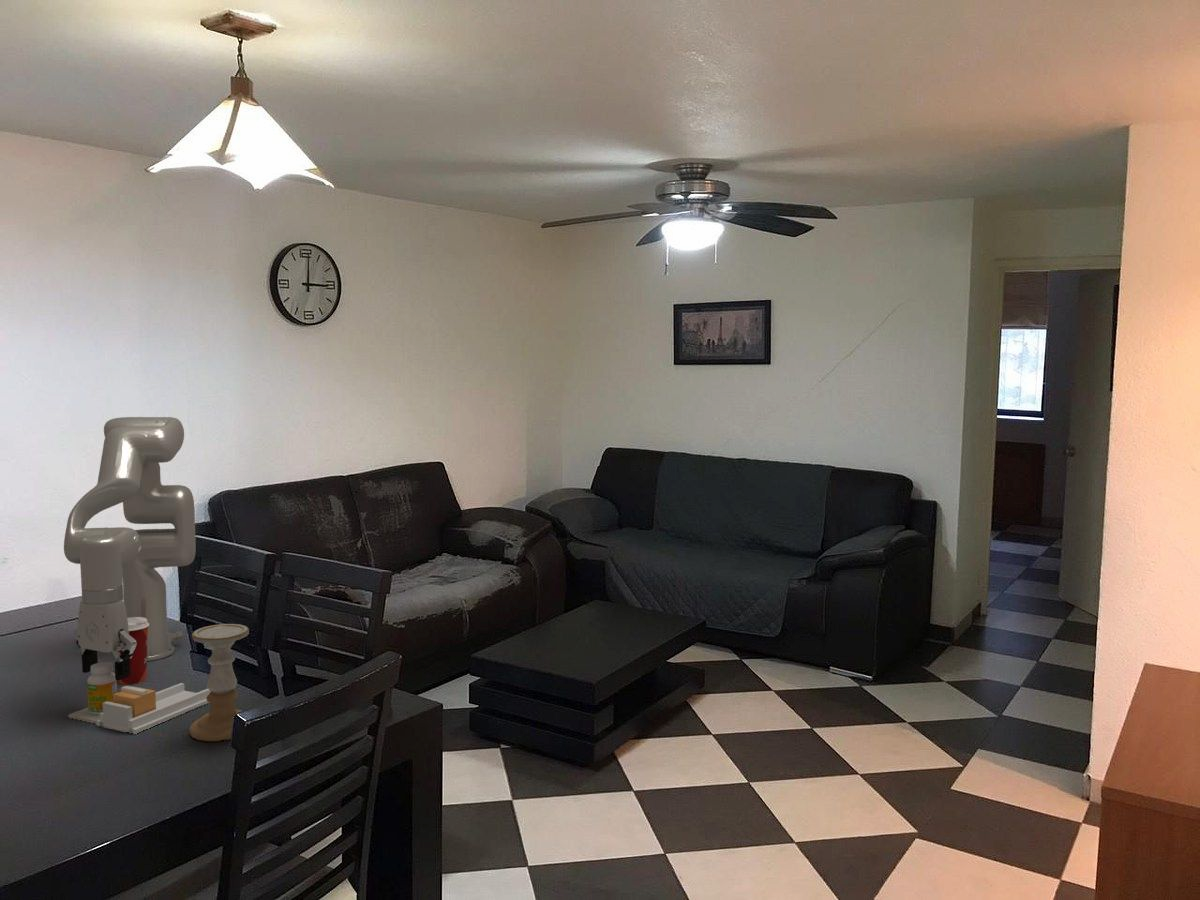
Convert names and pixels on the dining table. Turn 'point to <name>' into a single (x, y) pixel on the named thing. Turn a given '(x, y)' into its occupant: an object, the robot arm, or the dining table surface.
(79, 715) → the pad
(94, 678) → the supplement bottle
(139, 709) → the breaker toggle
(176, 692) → the guard channel
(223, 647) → the candle holder
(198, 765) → the dining table surface
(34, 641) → the dining table surface
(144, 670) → the paper cup
